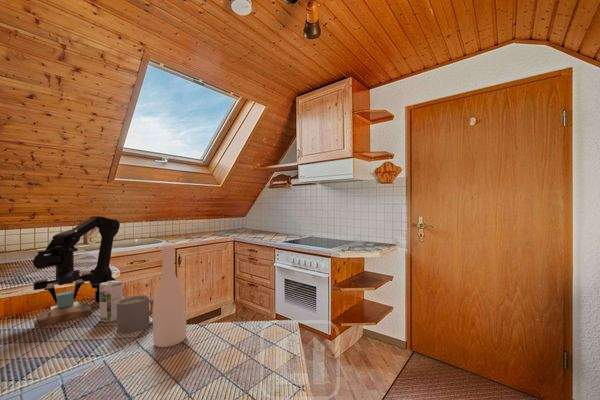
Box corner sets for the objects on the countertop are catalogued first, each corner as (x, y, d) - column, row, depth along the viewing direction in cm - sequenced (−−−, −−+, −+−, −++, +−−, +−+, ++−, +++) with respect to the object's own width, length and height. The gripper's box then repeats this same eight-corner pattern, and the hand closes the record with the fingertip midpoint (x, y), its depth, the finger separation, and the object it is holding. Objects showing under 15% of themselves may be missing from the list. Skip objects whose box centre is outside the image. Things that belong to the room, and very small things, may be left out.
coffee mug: (123, 336, 91) (123, 306, 91) (112, 329, 97) (112, 301, 97) (164, 322, 102) (163, 295, 102) (151, 316, 108) (151, 291, 108)
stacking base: (88, 307, 123) (88, 298, 123) (91, 314, 113) (91, 304, 113) (39, 317, 112) (39, 308, 112) (38, 326, 102) (38, 316, 102)
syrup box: (98, 321, 105) (98, 283, 106) (114, 315, 111) (113, 279, 111) (108, 323, 103) (107, 284, 104) (123, 317, 108) (123, 280, 109)
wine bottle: (168, 350, 80) (166, 248, 81) (146, 345, 83) (143, 247, 84) (193, 336, 88) (190, 244, 90) (171, 332, 92) (169, 243, 93)
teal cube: (72, 302, 116) (72, 290, 116) (73, 305, 113) (73, 293, 113) (57, 305, 113) (57, 293, 113) (57, 308, 109) (57, 296, 109)
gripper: (32, 270, 101) (33, 312, 101) (95, 262, 114) (95, 299, 113) (33, 266, 109) (34, 306, 109) (91, 259, 122) (92, 294, 121)
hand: (65, 301), depth 113 cm, fingers open, 5 cm apart
